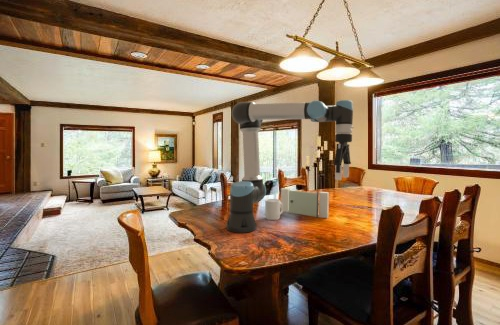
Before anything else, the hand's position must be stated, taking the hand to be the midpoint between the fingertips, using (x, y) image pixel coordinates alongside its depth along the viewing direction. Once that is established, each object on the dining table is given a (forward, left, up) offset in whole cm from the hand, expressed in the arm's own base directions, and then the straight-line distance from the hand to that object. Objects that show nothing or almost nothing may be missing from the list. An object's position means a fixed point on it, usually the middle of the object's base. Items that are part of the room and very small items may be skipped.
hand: (342, 178), depth 127 cm
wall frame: (-29, +27, -27) cm, 48 cm away
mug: (-40, +9, -27) cm, 49 cm away
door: (-28, +24, -27) cm, 46 cm away
